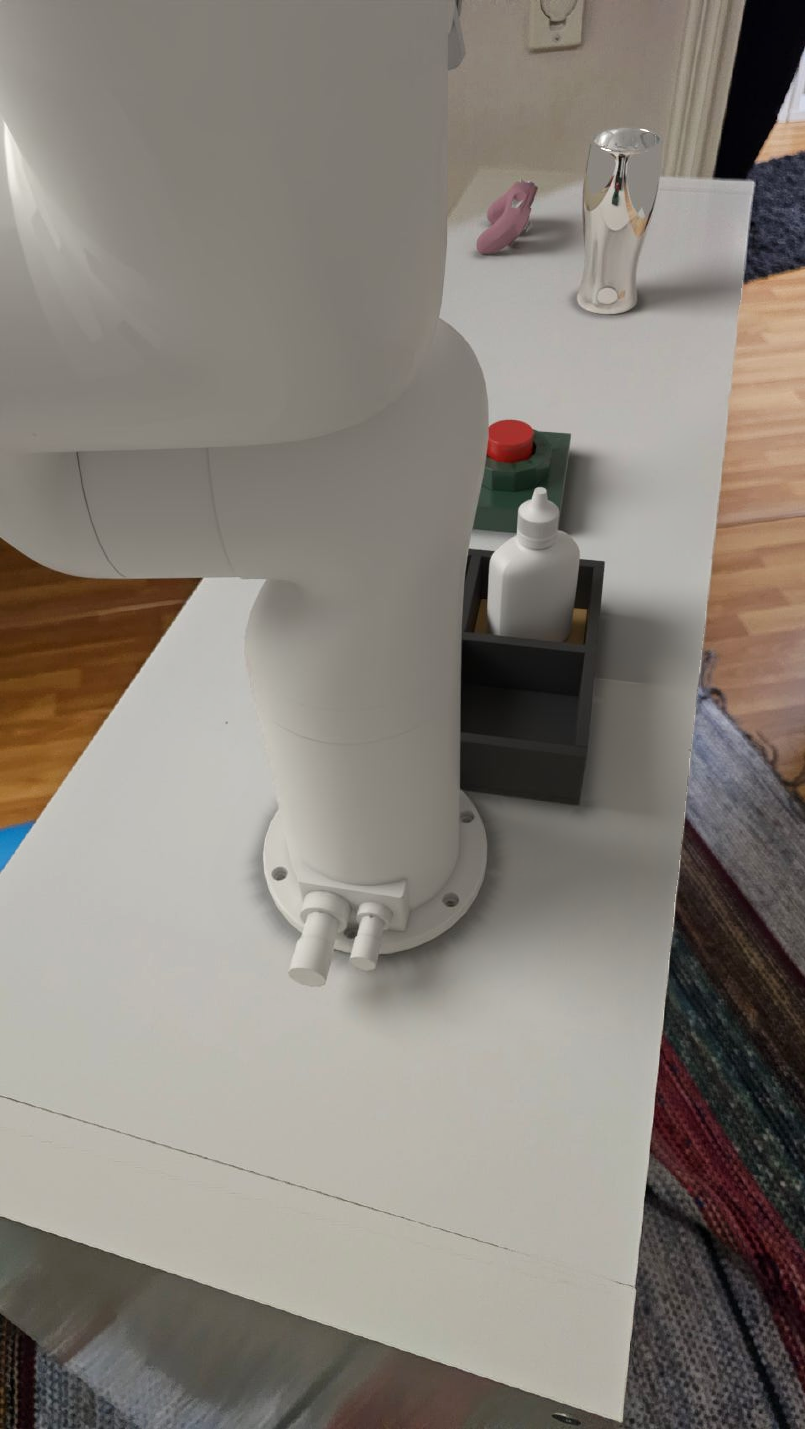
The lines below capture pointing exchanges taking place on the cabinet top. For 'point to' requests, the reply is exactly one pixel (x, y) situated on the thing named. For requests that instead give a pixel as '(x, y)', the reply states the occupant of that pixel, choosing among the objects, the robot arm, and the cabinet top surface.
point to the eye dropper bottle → (534, 576)
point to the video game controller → (508, 218)
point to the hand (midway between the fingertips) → (374, 183)
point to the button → (510, 441)
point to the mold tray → (527, 696)
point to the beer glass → (617, 214)
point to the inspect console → (522, 482)
